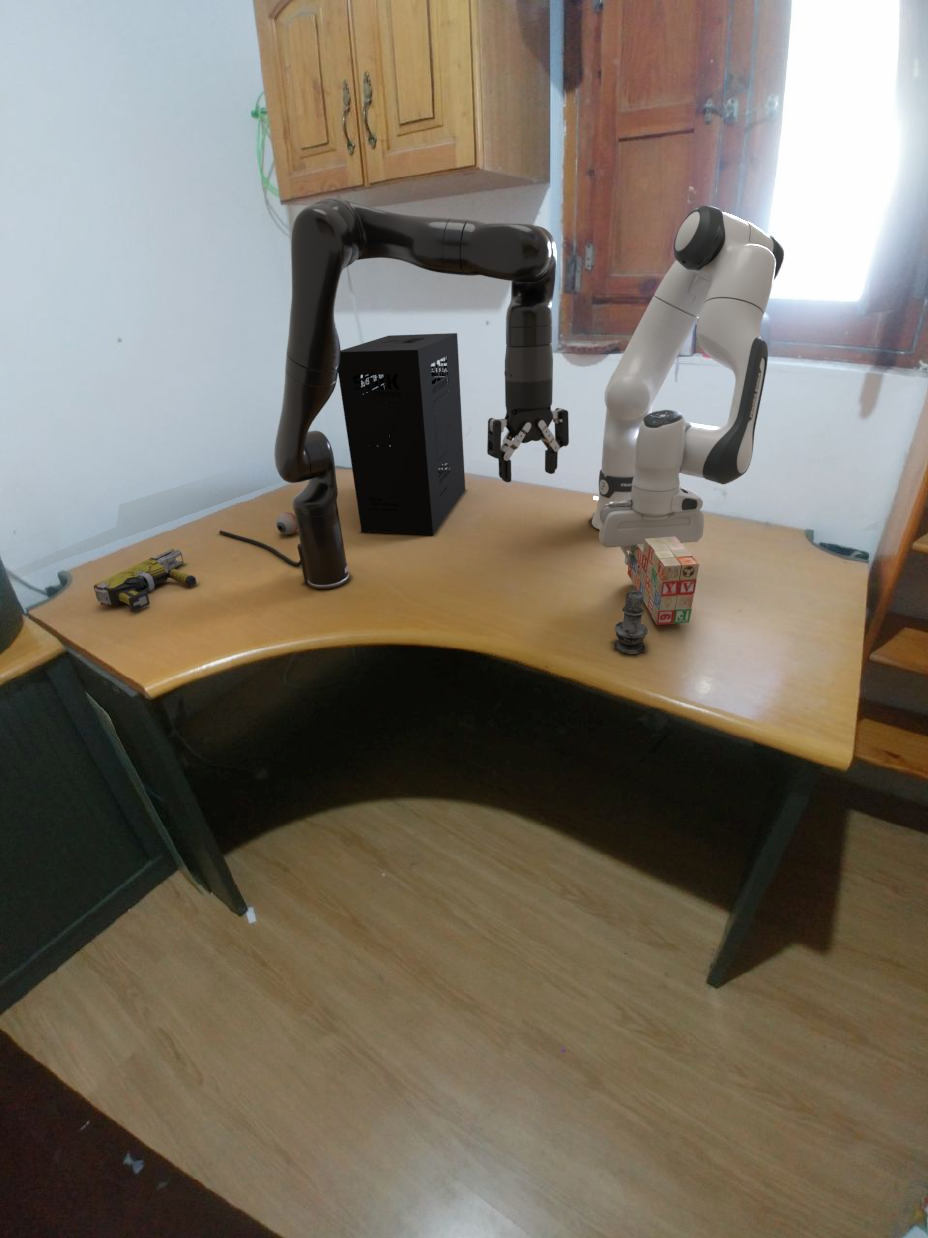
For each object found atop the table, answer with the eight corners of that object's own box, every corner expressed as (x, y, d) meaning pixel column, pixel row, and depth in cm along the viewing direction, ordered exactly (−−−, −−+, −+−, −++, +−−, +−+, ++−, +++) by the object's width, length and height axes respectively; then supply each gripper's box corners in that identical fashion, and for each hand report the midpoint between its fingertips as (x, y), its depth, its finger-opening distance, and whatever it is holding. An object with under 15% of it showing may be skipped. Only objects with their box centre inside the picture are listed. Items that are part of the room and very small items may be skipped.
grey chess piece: (647, 656, 105) (654, 595, 99) (612, 653, 107) (618, 593, 101) (645, 638, 110) (652, 579, 104) (612, 636, 111) (617, 578, 105)
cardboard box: (433, 535, 159) (417, 349, 136) (361, 532, 163) (335, 352, 141) (465, 489, 190) (457, 332, 168) (404, 488, 195) (388, 335, 172)
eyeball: (273, 537, 164) (268, 516, 161) (287, 528, 169) (282, 508, 166) (291, 539, 161) (286, 518, 158) (305, 530, 166) (301, 510, 163)
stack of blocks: (626, 574, 130) (631, 520, 124) (655, 572, 130) (661, 518, 124) (656, 625, 111) (664, 565, 105) (690, 623, 111) (700, 562, 105)
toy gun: (219, 557, 146) (169, 546, 150) (142, 598, 126) (87, 585, 129) (222, 574, 148) (172, 563, 152) (147, 618, 128) (92, 604, 132)
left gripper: (499, 384, 89) (501, 490, 98) (580, 373, 94) (576, 475, 102) (477, 378, 95) (481, 478, 104) (554, 368, 100) (552, 465, 108)
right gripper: (604, 507, 115) (600, 572, 122) (711, 500, 115) (701, 566, 122) (597, 496, 121) (594, 559, 128) (699, 490, 121) (690, 553, 128)
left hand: (528, 476), depth 103 cm, fingers open, 8 cm apart
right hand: (647, 562), depth 125 cm, fingers closed on stack of blocks, 6 cm apart
